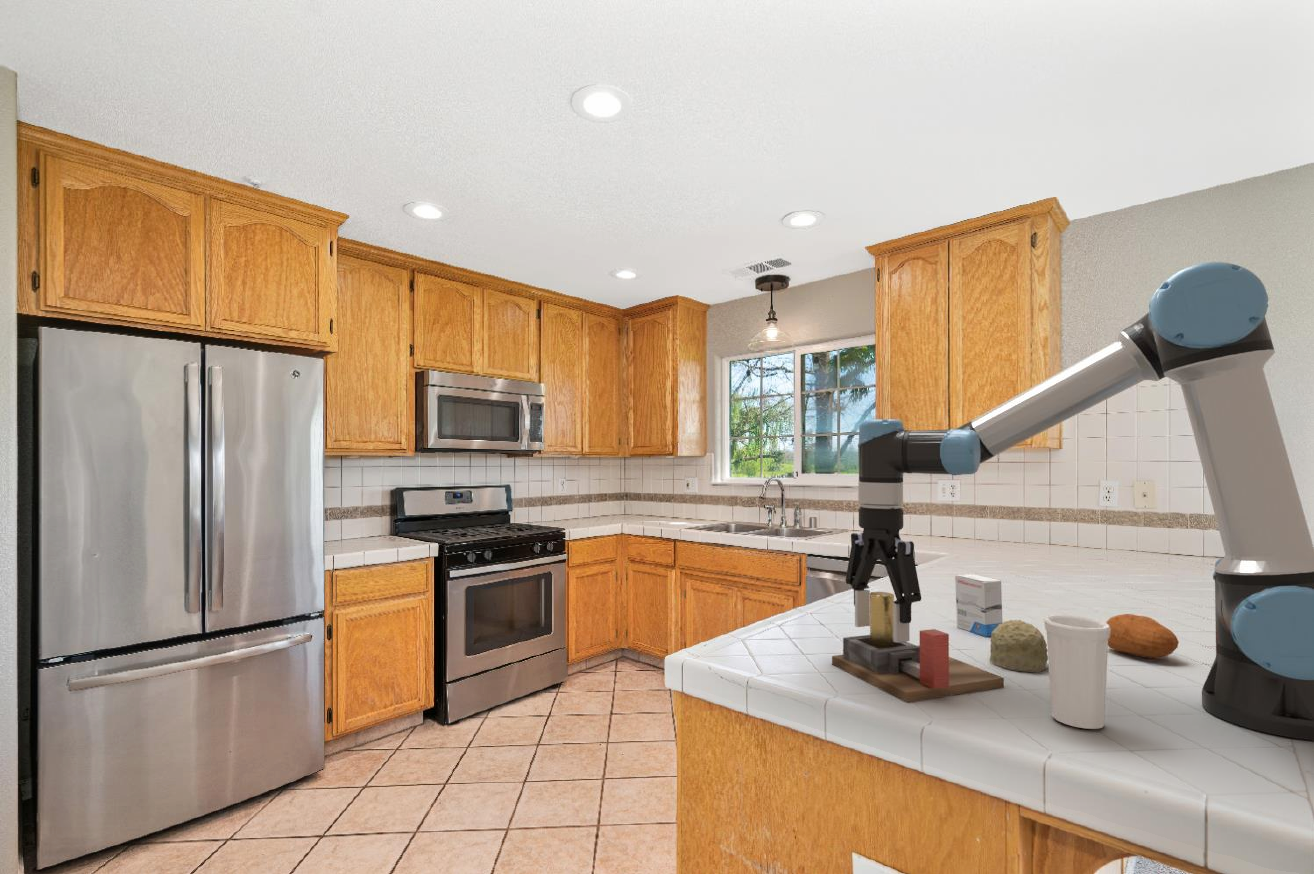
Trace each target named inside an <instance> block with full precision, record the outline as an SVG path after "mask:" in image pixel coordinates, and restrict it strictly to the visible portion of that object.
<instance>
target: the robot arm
mask: <svg viewBox="0 0 1314 874" xmlns="http://www.w3.org/2000/svg"><path fill="white" fill-rule="evenodd" d="M1268 296H1269V295H1268V293H1267V289H1266V287H1265V285H1264V283H1263V282H1262V280H1261V279H1260V278H1259V277H1258V276H1257V275H1256V273H1254V272H1252V271H1251V270H1250V269H1248V268H1246V267H1243V266H1240V265H1238V264H1234V263H1230V262H1223V261H1222V262H1221V261H1212V262H1211V261H1210V262H1208V261H1207V262H1203V263H1202V262H1201V263H1197V264H1194V265H1190V266H1188V267H1185V268H1184V269H1183V268H1182V269H1181V270H1179V271H1177V272H1175V273H1174V274H1173V275H1171V276H1170V277H1168V278H1167V279H1166V280H1164V281H1163V283H1161V285H1159V287H1158V288H1157V289H1156V291H1155V292H1154V293H1153V294H1152V297H1151V299H1150V303H1149V307H1148V312H1147V313H1146V314H1145V315H1144V316H1143V317H1141V318H1140V319H1139V320H1137V321H1135V322H1134V323H1132V324H1131V325H1128V326H1127V327H1126V328H1124V329H1122V330H1120V331H1119V332H1118V335H1117V338H1116V340H1115V341H1114V342H1112V343H1110V344H1107V345H1106V346H1104V347H1103V348H1101V349H1099V350H1098V351H1096V352H1094V353H1092V354H1090V355H1088V356H1087V357H1085V358H1083V359H1080V361H1077V362H1075V363H1074V364H1072V365H1070V366H1068V367H1066V368H1065V369H1063V370H1061V371H1059V372H1057V373H1056V374H1054V375H1052V376H1050V377H1049V378H1047V379H1045V380H1043V381H1040V382H1039V383H1037V384H1036V385H1033V386H1032V387H1029V388H1028V389H1027V390H1024V391H1023V392H1021V393H1019V394H1018V395H1015V396H1014V397H1012V398H1009V399H1008V400H1006V401H1003V403H1001V404H999V405H998V406H997V405H996V406H995V407H994V408H992V409H990V410H988V411H986V412H984V413H983V414H981V415H979V416H977V417H976V418H974V419H971V421H969V422H966V423H963V424H962V425H961V426H959V427H957V428H950V429H928V430H912V429H911V430H909V429H905V428H904V422H902V420H900V419H897V418H896V419H893V418H891V419H890V418H886V419H884V418H882V419H881V418H880V419H878V418H877V419H866V420H863V421H862V422H860V424H859V428H858V443H857V450H858V451H857V454H858V455H857V456H858V457H857V458H858V485H857V486H858V487H857V488H858V492H857V493H858V495H857V497H858V499H857V501H858V504H859V505H861V506H860V507H859V508H858V527H860V528H861V529H863V530H862V532H855V533H854V532H852V533H851V534H850V543H851V544H850V545H851V547H850V552H849V558H848V563H847V564H848V565H847V569H846V575H845V583H846V584H847V585H850V586H851V588H852V590H853V606H854V627H856V628H863V627H864V628H865V627H870V593H871V591H870V586H869V585H868V584H869V581H870V579H871V577H872V573H873V571H874V569H875V567H876V563H877V561H881V564H882V566H884V567H885V569H886V572H887V575H888V579H889V581H890V585H891V587H892V590H893V593H894V597H895V599H896V600H894V603H893V641H894V642H896V643H898V642H910V623H911V622H912V604H913V603H917V602H921V601H922V593H921V589H920V584H919V577H918V572H917V567H916V562H915V556H914V555H915V554H914V552H915V543H914V542H913V541H911V540H910V541H905V540H902V538H901V537H900V531H901V530H902V529H903V528H904V510H903V508H902V507H900V506H902V505H903V504H904V474H923V475H925V474H926V475H951V476H955V477H956V476H962V475H973V474H976V473H977V472H978V470H979V467H980V465H981V464H983V463H986V461H988V460H990V459H992V458H993V457H996V456H997V455H1000V454H1001V453H1002V454H1003V452H1006V451H1008V450H1009V449H1011V448H1013V447H1016V446H1017V445H1019V444H1021V443H1023V442H1025V441H1028V440H1029V439H1031V438H1034V437H1035V436H1037V435H1038V434H1041V433H1043V432H1045V431H1047V430H1049V429H1051V428H1054V427H1055V426H1057V425H1059V424H1060V423H1062V422H1065V421H1066V420H1069V419H1071V418H1072V417H1075V416H1077V415H1078V414H1081V413H1082V412H1085V411H1087V410H1088V409H1090V408H1093V407H1094V406H1096V405H1098V404H1100V403H1103V402H1104V401H1106V400H1108V399H1110V398H1112V397H1114V396H1115V395H1118V394H1120V393H1123V392H1124V391H1126V390H1128V389H1130V388H1131V387H1134V386H1136V385H1137V384H1140V383H1142V382H1143V381H1154V382H1158V381H1160V380H1162V379H1164V378H1168V379H1170V380H1171V381H1174V382H1176V383H1178V385H1180V387H1181V391H1182V394H1183V398H1184V403H1185V407H1186V410H1187V413H1188V419H1189V422H1190V426H1191V429H1192V432H1193V436H1194V441H1195V444H1196V448H1197V452H1198V456H1199V460H1200V463H1201V468H1202V470H1203V475H1204V478H1205V482H1206V487H1207V490H1208V494H1209V497H1210V501H1211V504H1212V505H1211V506H1212V508H1213V512H1214V516H1215V520H1216V523H1217V524H1216V525H1217V528H1218V531H1219V536H1220V538H1221V543H1222V547H1223V550H1224V557H1222V558H1221V557H1220V558H1219V559H1217V560H1216V561H1215V564H1214V567H1213V569H1214V572H1213V574H1212V579H1213V580H1214V604H1215V605H1214V606H1215V607H1214V608H1215V609H1214V610H1215V611H1214V612H1215V618H1214V619H1215V658H1214V661H1213V663H1212V666H1211V668H1210V670H1209V672H1208V674H1207V677H1206V680H1205V682H1204V684H1203V686H1202V689H1201V706H1202V708H1203V709H1204V710H1205V711H1207V712H1208V713H1210V714H1211V715H1213V716H1215V717H1217V718H1219V719H1221V720H1224V721H1226V722H1229V723H1232V724H1235V725H1237V726H1241V727H1243V728H1244V727H1245V728H1248V729H1250V730H1254V731H1259V732H1263V733H1266V734H1271V735H1275V736H1281V737H1285V738H1286V737H1287V738H1293V739H1299V740H1308V741H1314V544H1313V540H1312V537H1311V533H1310V530H1309V527H1308V523H1307V519H1306V515H1305V513H1304V508H1303V506H1302V502H1301V498H1300V494H1299V490H1298V488H1297V484H1296V480H1295V477H1294V472H1293V469H1292V466H1291V463H1290V459H1289V456H1288V452H1287V448H1286V444H1285V441H1284V438H1283V435H1282V434H1283V433H1282V431H1281V427H1280V424H1279V423H1280V422H1279V420H1278V417H1277V412H1276V409H1275V407H1274V403H1273V399H1272V396H1271V392H1270V388H1269V384H1268V381H1267V377H1266V374H1265V371H1264V368H1265V366H1266V363H1267V362H1268V361H1269V360H1270V359H1271V358H1272V357H1273V356H1274V354H1276V352H1275V348H1274V344H1273V340H1272V337H1271V334H1270V329H1269V326H1268V323H1267V318H1266V316H1267V315H1266V314H1267V312H1268V307H1269V303H1268V302H1269V297H1268Z"/></svg>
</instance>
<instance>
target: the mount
mask: <svg viewBox="0 0 1314 874" xmlns="http://www.w3.org/2000/svg"><path fill="white" fill-rule="evenodd" d="M842 638H843V639H842V641H843V643H842V644H843V645H842V646H843V647H842V648H843V649H842V654H835V655H831V664H832V665H834V666H835V667H837V668H839V669H840V670H843V671H845V672H847V673H849V674H851V675H852V676H855V677H856V678H858V679H860V680H862V681H864V682H866V683H868V684H870V685H872V686H874V687H876V688H878V689H880V690H882V691H884V692H886V693H888V694H889V695H891V696H894V697H896V698H897V699H899V700H902V701H903V702H906V703H910V702H917V701H922V700H929V699H935V698H944V697H949V696H956V695H960V694H961V695H962V694H967V693H969V694H970V693H974V692H981V691H986V690H994V689H1000V688H1005V677H1004V676H1003V677H1002V676H1001V675H997V674H995V673H992V672H990V671H988V670H985V669H982V668H980V667H977V666H974V665H971V664H969V663H967V662H964V661H961V660H958V659H956V658H953V657H951V656H949V687H944V688H937V689H933V688H931V687H928V686H926V685H924V684H922V683H920V679H919V678H917V677H915V676H912V675H910V674H908V673H906V672H903V671H901V670H899V659H904V658H907V659H909V660H912V661H914V662H916V663H919V664H920V644H919V645H915V644H914V643H911V642H909V641H906V642H898V643H896V642H894V647H891V648H883V649H878V648H875V647H873V646H871V645H870V634H867V635H866V634H865V635H857V636H856V635H855V636H846V637H842Z"/></svg>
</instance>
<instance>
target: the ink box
mask: <svg viewBox="0 0 1314 874" xmlns="http://www.w3.org/2000/svg"><path fill="white" fill-rule="evenodd" d="M1002 596H1003V595H1002V580H1000V579H995V578H990V577H987V576H982V575H977V574H973V573H969V574H967V573H965V574H956V575H955V603H956V604H955V607H956V628H957V629H961V630H964V631H967V632H970V633H973V634H977V635H980V636H982V637H984V638H988V637H989V638H990V637H991V634H992V631H994V630H995V629H996V628H997V627H998V625H999V624H1001V623H1003V622H1004V621H1003V602H1002V601H1003V599H1002V598H1003V597H1002Z"/></svg>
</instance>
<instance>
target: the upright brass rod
mask: <svg viewBox="0 0 1314 874" xmlns="http://www.w3.org/2000/svg"><path fill="white" fill-rule="evenodd" d="M894 601H895V593H894V594H893V593H891V592H887V591H870V626H869V635H870V645H871V646H873V647H875V648H878V649H883V648H891V647H894V641H893V603H894Z"/></svg>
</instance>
